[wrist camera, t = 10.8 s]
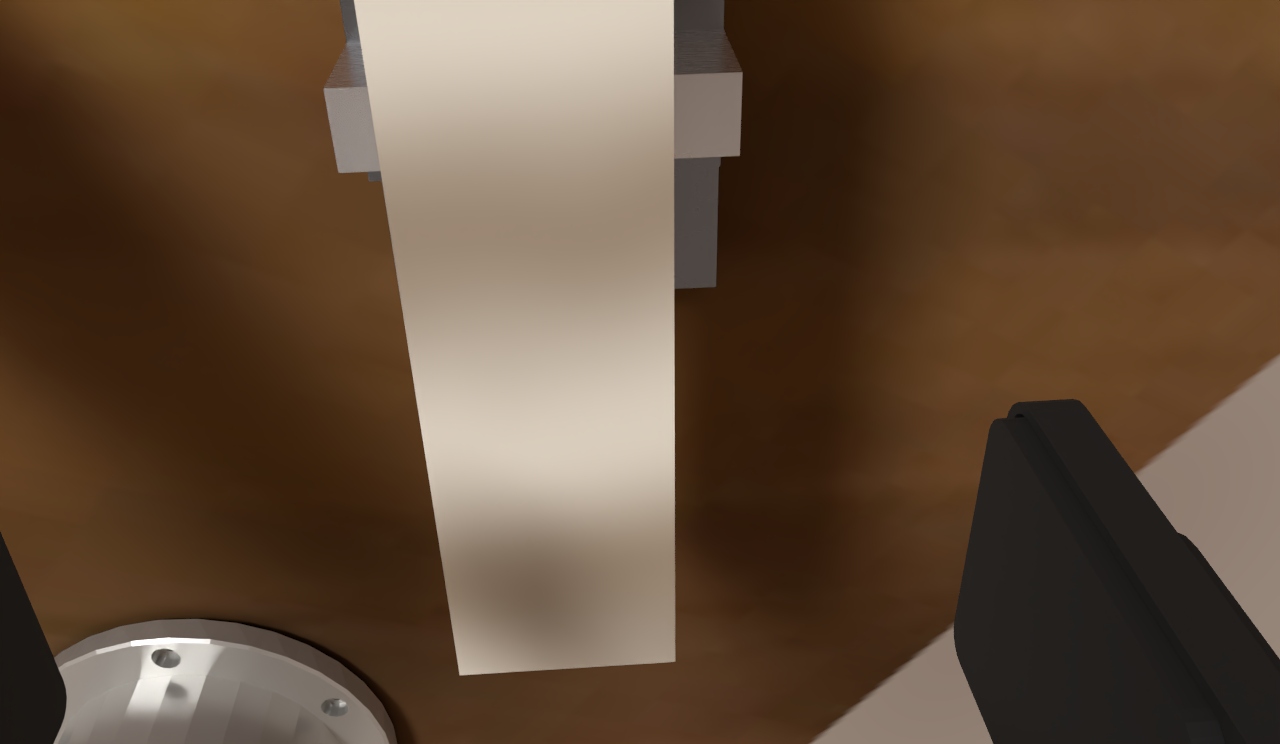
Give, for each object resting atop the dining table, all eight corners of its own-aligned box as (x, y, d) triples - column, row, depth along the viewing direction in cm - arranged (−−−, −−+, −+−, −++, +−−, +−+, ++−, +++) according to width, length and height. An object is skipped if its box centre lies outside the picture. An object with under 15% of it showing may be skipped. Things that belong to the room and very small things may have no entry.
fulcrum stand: (709, 259, 30) (754, 439, 23) (407, 273, 29) (364, 460, 23) (720, -371, 22) (793, -375, 15) (312, -362, 22) (205, -362, 15)
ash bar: (658, 520, 24) (675, 661, 21) (472, 531, 24) (460, 675, 21) (644, -553, 14) (672, -610, 11) (328, -547, 14) (259, -605, 11)
